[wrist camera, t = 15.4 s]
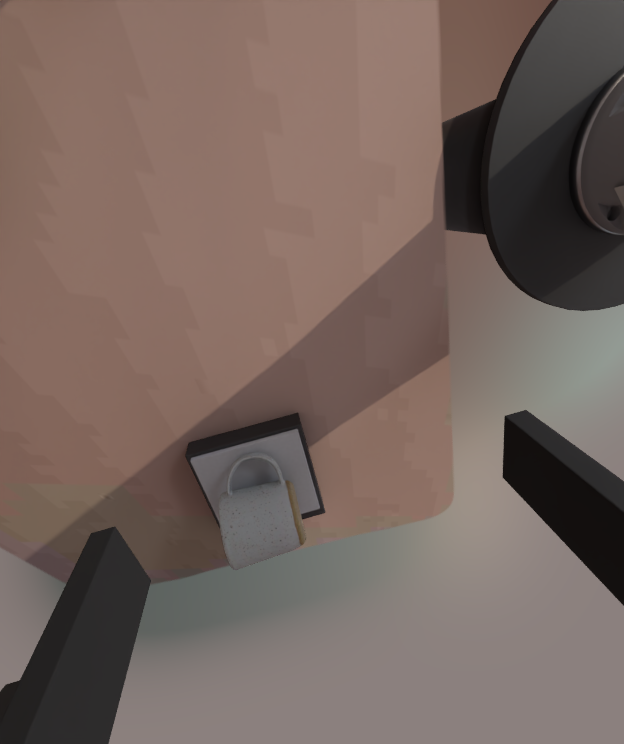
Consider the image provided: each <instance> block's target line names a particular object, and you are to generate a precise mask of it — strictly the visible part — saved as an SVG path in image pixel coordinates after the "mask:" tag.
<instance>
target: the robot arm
mask: <svg viewBox="0 0 624 744" xmlns="http://www.w3.org/2000/svg"><path fill="white" fill-rule="evenodd" d="M569 188H570V195H571V199H572V202H573V205H574V208H575V210H576V212H577V213H578V215H579V217H580V218H581V219H582V220H583V222H584V223H586V224H587V225H588V226H589V227H591V228H592V229H594V230H596V231H598V232H601V233H605V234H614V235H624V67H623V68H622V69H621V70H620V71H619V72H618V73H617V74H616V75H615V76H613V77H612V79H611V80H610V81H609V82H608V83H607V84H606V85H605V86H604V88H603V89H602V90H601V91H600V93H599V94H598V95H597V97H596V98H595V100H594V101H593V103H592V105H591V106H590V108H589V110H588V111H587V113H586V115H585V117H584V119H583V121H582V123H581V126H580V128H579V130H578V133H577V136H576V139H575V142H574V145H573V149H572V154H571V158H570V166H569ZM503 478H504V479H505V480H506V481H507V482H508V483H509V484H510V486H511V487H512V488H513V489H514V490H515V491H516V492H517V493H518V494H519V495H520V496H521V497H522V498H523V499H524V500H525V501H526V502H527V504H528V505H530V507H531V508H532V509H533V510H534V511H535V512H536V513H537V514H538V515H539V516H540V517H541V518H542V519H543V521H544V522H545V523H546V524H547V525H548V526H549V527H550V528H551V529H552V530H553V531H554V532H555V533H556V534H557V535H558V536H559V537H560V539H561V540H562V541H563V542H565V544H566V545H567V546H568V547H569V548H570V549H571V550H572V551H573V552H574V553H575V554H576V556H577V557H578V558H579V559H580V560H581V561H582V562H583V563H584V564H585V565H586V566H587V567H588V568H589V569H590V570H591V571H592V573H593V574H594V575H595V576H596V577H597V578H598V579H599V580H600V581H601V582H602V583H603V584H604V585H605V586H606V587H607V588H608V589H609V591H610V592H611V593H612V594H613V595H614V596H615V597H616V598H617V599H618V600H619V601H620V602H621V603H622V604H623V605H624V481H623V480H621V479H620V478H619V477H617V476H616V475H615V474H613V473H612V472H610V471H609V470H608V469H606V468H605V467H604V466H602V465H601V464H599V463H598V462H597V461H595V460H594V459H593V458H591V457H590V456H588V455H587V454H586V453H584V452H583V451H582V450H580V449H579V448H577V447H576V446H575V445H573V444H572V443H570V442H569V441H568V440H567V439H565V438H564V437H562V436H561V435H560V434H558V433H557V432H556V431H554V430H553V429H551V428H550V427H549V426H547V425H546V424H545V423H543V422H542V421H540V420H539V419H538V418H536V417H535V416H534V415H532V414H531V413H529V412H528V411H527V410H524V411H521V412H517V413H514V414H510V415H507V416H505V423H504V455H503ZM150 582H151V580H150V578H149V577H148V575H147V574H146V572H145V571H144V569H143V568H142V566H141V565H140V563H139V562H138V560H137V559H136V557H135V556H134V554H133V553H132V551H131V550H130V548H129V547H128V545H127V544H126V542H125V541H124V539H123V538H122V536H121V534H120V533H119V531H118V530H117V528H116V527H112V528H108V529H105V530H101V531H98V532H94V533H91V534H90V537H89V539H88V541H87V543H86V545H85V547H84V549H83V551H82V553H81V555H80V557H79V559H78V561H77V563H76V566H75V568H74V570H73V572H72V574H71V576H70V578H69V580H68V582H67V584H66V586H65V588H64V591H63V592H62V595H61V597H60V599H59V601H58V603H57V605H56V607H55V609H54V611H53V613H52V616H51V617H50V620H49V621H48V624H47V626H46V628H45V630H44V632H43V634H42V636H41V638H40V640H39V642H38V644H37V646H36V648H35V650H34V653H33V655H32V657H31V659H30V661H29V663H28V665H27V667H26V669H25V671H24V673H23V675H22V677H21V680H20V681H17V682H13V683H10V684H7V685H5V686H4V688H3V689H2V690H1V692H0V744H108V743H109V739H110V735H111V731H112V727H113V724H114V720H115V716H116V712H117V708H118V704H119V701H120V697H121V693H122V689H123V685H124V681H125V678H126V674H127V670H128V666H129V663H130V659H131V655H132V651H133V647H134V643H135V639H136V636H137V632H138V628H139V624H140V620H141V617H142V613H143V609H144V605H145V601H146V597H147V594H148V590H149V586H150Z"/></svg>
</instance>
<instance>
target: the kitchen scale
mask: <svg viewBox="0 0 624 744" xmlns="http://www.w3.org/2000/svg"><path fill="white" fill-rule="evenodd" d="M255 452H259V453H263V454H266V455H269V456H270V457H272V458H273V459H274V460H275V461H276V463H277V464H278V466H279V468H280V470H281V473H282V477H283V480H285V481H286V480H288V481H290V482H292V483H293V485H294V488H295V492H296V496H297V500H298V505H299V509H300V513H301V517H302V519H305V518H309V517H312V516H316V515H319V514H323V513H325V509H324V505H323V501H322V497H321V494H320V490H319V486H318V483H317V479H316V476H315V472H314V468H313V465H312V461H311V457H310V454H309V450H308V447H307V443H306V439H305V436H304V432H303V428H302V425H301V421H300V418H299V414H298V413H296V414H292V415H288V416H285V417H281V418H277V419H274V420H270V421H267V422H263V423H259V424H256V425H252V426H248V427H245V428H241V429H237V430H234V431H230V432H226V433H223V434H219V435H215V436H212V437H208V438H205V439H201V440H197V441H194V442H190V443H189V444H188V448H187V452H186V458H187V461H188V463H189V465H190V467H191V469H192V471H193V473H194V475H195V477H196V479H197V482H198V484H199V486H200V488H201V490H202V492H203V494H204V496H205V498H206V500H207V503H208V505H209V507H210V509H211V511H212V513H213V515H214V517H215V519H216V521H217V524H218V526H219V528H220V523H219V499H220V495H221V494H222V493H224V492H227V490H226V488H227V477H228V474H229V471H230V468H231V466H232V465H233V463H234V462H235V461H236V460H237V459H238V458H239V457H241V456H243V455H245V454H248V453H255ZM278 480H279V479H278V475H277V473H276V471H275V469H274V468H273V467H272V465H271V464H270V463H267V462H265V461H261V462H259V461H257V460H248V461H243V462H241V463H240V464H239V466H238V467H237V468H236V470H235V471H234V473H233V475H232V479H231V488H232V490H236V489H241V488H246V487H251V486H257V485H261V484H265V483H269V482H274V481H278Z"/></svg>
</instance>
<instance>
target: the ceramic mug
mask: <svg viewBox="0 0 624 744" xmlns="http://www.w3.org/2000/svg"><path fill="white" fill-rule="evenodd" d="M248 460H257V461H259V462H261V461H265V462H267V463H270V464H271V465H272V467H273V468H274V469H275V471H276V473H277V475H278V479H279V480H278V481H274V482H269V483H265V484H261V485H257V486H251V487H246V488H241V489H236V490H232V488H231V479H232V475H233V473H234V471H235V470H236V468H237V467H238V466H239V464H240V463H241V462H243V461H248ZM226 490H227V492H224V493H222V494H221V495H220V499H219V523H220V531H221V537H222V541H223V546H224V550H225V553H226V557H227V560H228V562H229V564H230V566H231V567H232V568H233V569H234V570H238V569H240V568H243V567H246V566H249V565H251V564H255V563H258V562H260V561H263V560H266V559H269V558H272V557H275V556H277V555H280V554H284V553H287V552H290V551H292V550H294V549H296V548H298V547H300V546H301V545H303V544H304V542H305V540H306V535H305V530H304V526H303V521H302V517H301V513H300V509H299V505H298V500H297V496H296V492H295V488H294V485H293V483H292V482H290V481H288V480H286V481H285V480H283V477H282V473H281V470H280V468H279V466H278V464H277V463H276V461H275V460H274V459H273V458H272V457H270V456H269V455H266V454H263V453H259V452H255V453H248V454H245V455H243V456H241V457H239V458H238V459H237V460H236V461H235V462H234V463H233V465H232V466H231V468H230V471H229V474H228V477H227V488H226Z"/></svg>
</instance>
